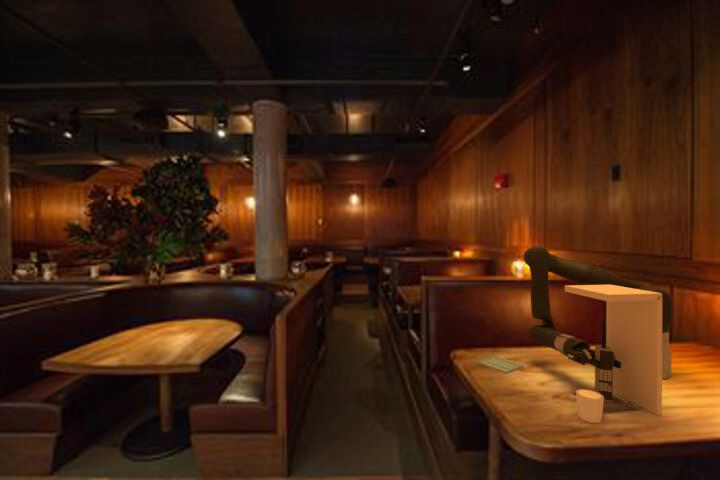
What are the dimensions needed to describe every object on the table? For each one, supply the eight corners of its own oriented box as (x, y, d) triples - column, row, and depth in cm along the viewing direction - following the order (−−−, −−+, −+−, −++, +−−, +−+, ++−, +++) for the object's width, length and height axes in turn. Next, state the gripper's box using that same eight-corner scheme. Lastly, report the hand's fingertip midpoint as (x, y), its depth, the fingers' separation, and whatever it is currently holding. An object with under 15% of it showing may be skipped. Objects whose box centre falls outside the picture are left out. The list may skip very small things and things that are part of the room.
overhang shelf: (610, 387, 117) (610, 284, 117) (661, 414, 99) (662, 293, 99) (564, 390, 115) (564, 285, 115) (608, 418, 97) (608, 294, 97)
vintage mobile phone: (599, 402, 106) (599, 323, 105) (594, 395, 110) (595, 319, 110) (613, 404, 104) (614, 324, 104) (608, 397, 109) (609, 320, 108)
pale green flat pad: (523, 368, 136) (523, 364, 136) (506, 375, 129) (506, 371, 129) (494, 358, 147) (494, 355, 147) (476, 364, 140) (476, 361, 140)
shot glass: (570, 412, 101) (570, 389, 101) (591, 411, 102) (591, 388, 102) (587, 424, 94) (587, 400, 94) (610, 423, 95) (610, 399, 95)
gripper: (553, 337, 120) (590, 354, 104) (590, 336, 122) (632, 352, 105) (553, 358, 121) (589, 379, 104) (590, 356, 122) (632, 376, 105)
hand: (611, 365), depth 104 cm, fingers open, 5 cm apart
